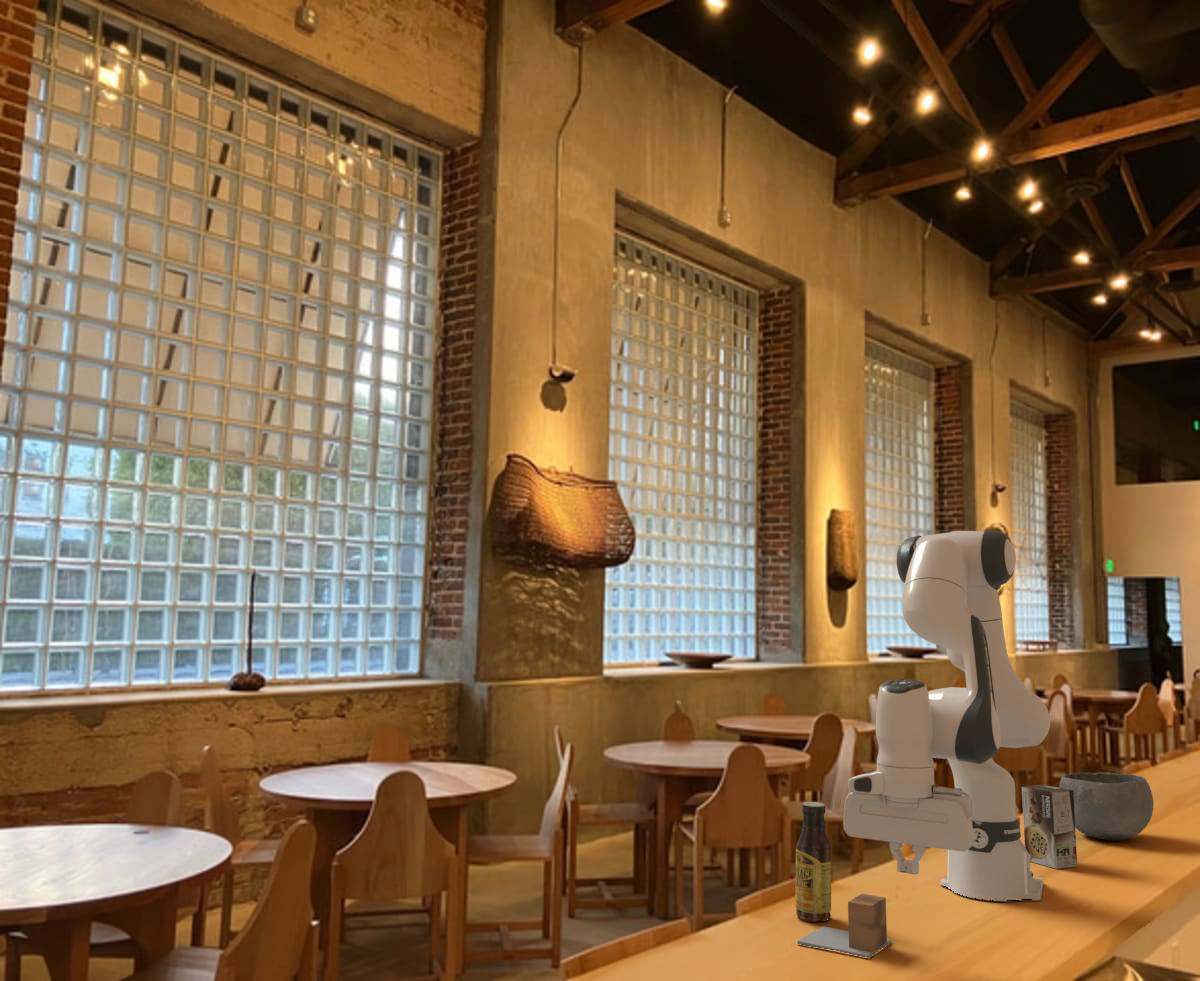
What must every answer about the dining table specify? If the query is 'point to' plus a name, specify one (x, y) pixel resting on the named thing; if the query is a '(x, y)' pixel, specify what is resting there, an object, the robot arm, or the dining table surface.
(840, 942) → the mat
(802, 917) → the sauce bottle
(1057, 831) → the coffee box
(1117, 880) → the dining table surface
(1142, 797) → the bowl
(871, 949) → the walnut block
